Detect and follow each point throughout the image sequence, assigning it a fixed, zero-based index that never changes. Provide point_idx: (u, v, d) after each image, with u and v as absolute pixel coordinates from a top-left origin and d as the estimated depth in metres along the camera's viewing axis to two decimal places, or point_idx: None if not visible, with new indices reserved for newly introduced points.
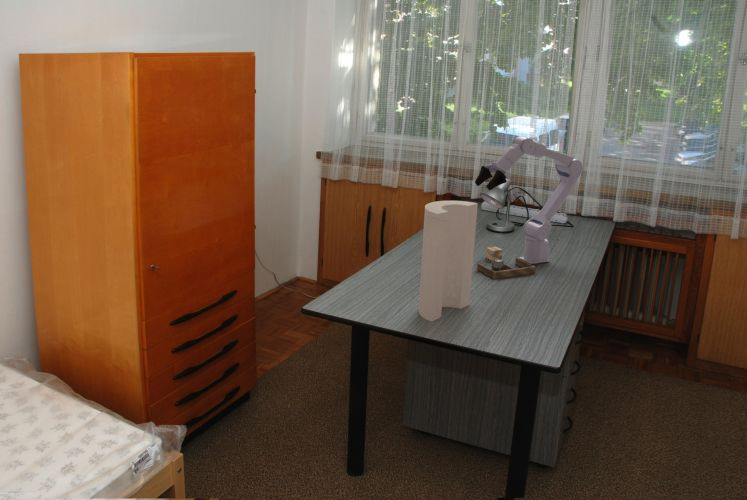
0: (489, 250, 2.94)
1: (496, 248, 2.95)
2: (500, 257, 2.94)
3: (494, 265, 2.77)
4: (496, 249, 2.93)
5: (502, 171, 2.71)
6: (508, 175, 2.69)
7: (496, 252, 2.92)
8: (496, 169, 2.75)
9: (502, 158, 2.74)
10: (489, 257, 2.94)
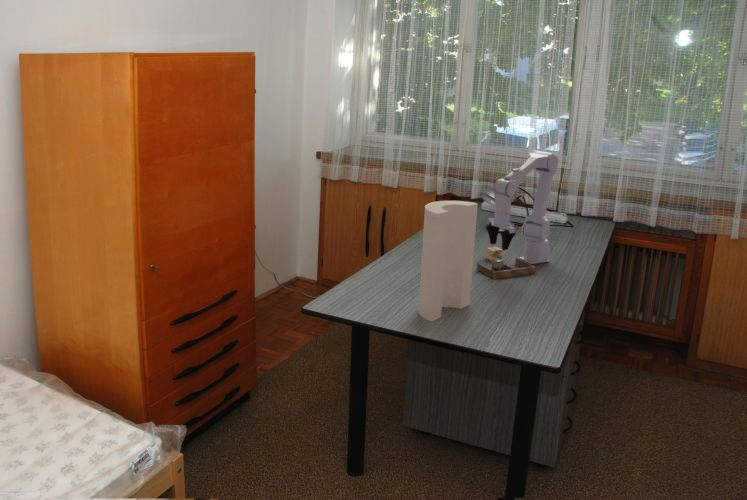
0: (489, 250, 2.94)
1: (496, 248, 2.95)
2: (500, 257, 2.94)
3: (494, 265, 2.77)
4: (496, 249, 2.93)
5: None
6: (512, 231, 2.68)
7: (496, 252, 2.92)
8: None
9: (497, 215, 2.71)
10: (489, 257, 2.94)
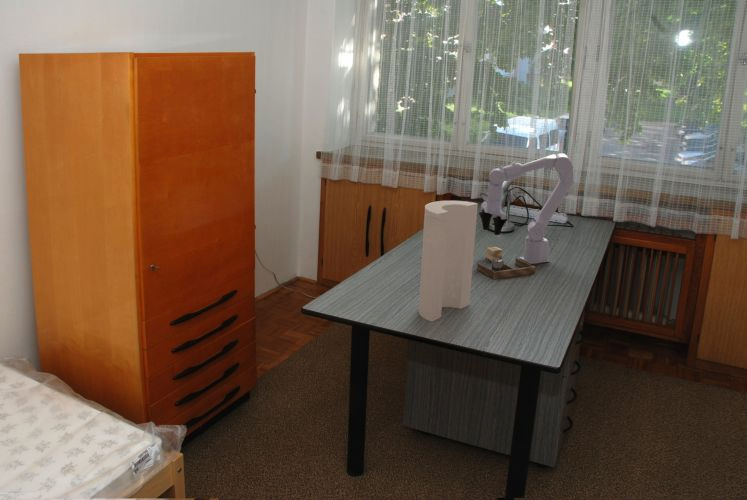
0: (489, 250, 2.94)
1: (496, 248, 2.95)
2: (500, 257, 2.94)
3: (494, 265, 2.77)
4: (496, 249, 2.93)
5: None
6: (504, 217, 2.86)
7: (496, 252, 2.92)
8: None
9: (489, 202, 2.89)
10: (489, 257, 2.94)
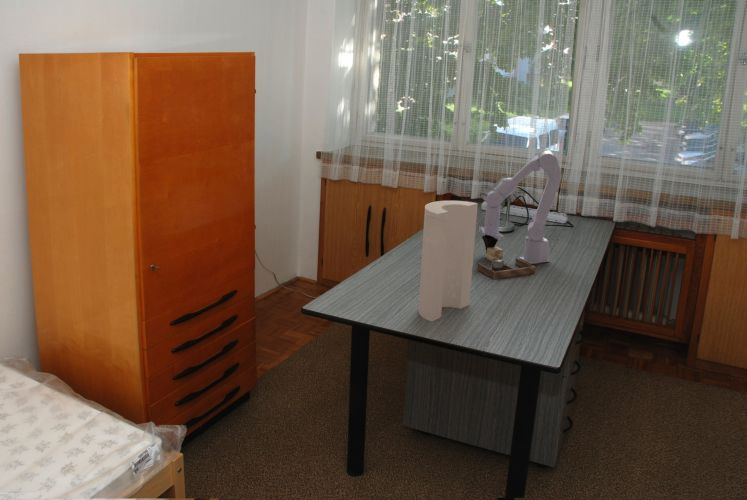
0: (490, 250, 2.93)
1: (497, 248, 2.94)
2: (501, 257, 2.94)
3: (494, 265, 2.77)
4: (497, 249, 2.93)
5: None
6: (501, 239, 2.89)
7: (497, 252, 2.92)
8: None
9: (487, 224, 2.92)
10: (490, 257, 2.94)
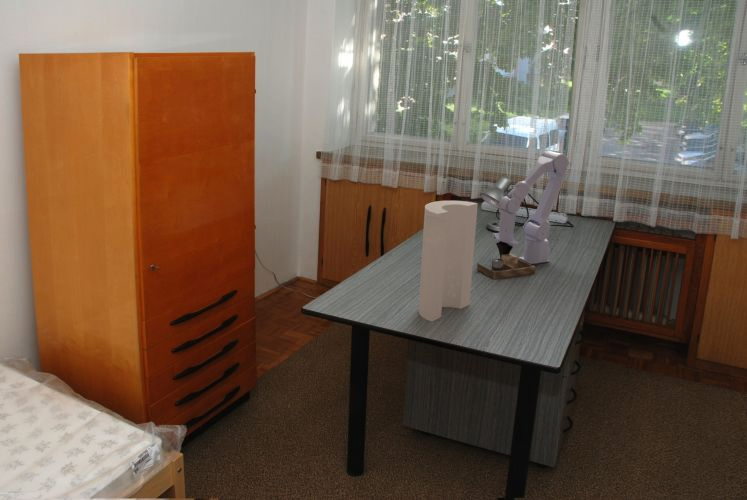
0: (504, 257, 2.85)
1: (511, 255, 2.86)
2: (515, 264, 2.85)
3: (494, 265, 2.77)
4: (511, 256, 2.85)
5: None
6: (516, 246, 2.81)
7: (511, 259, 2.84)
8: None
9: (501, 231, 2.84)
10: None
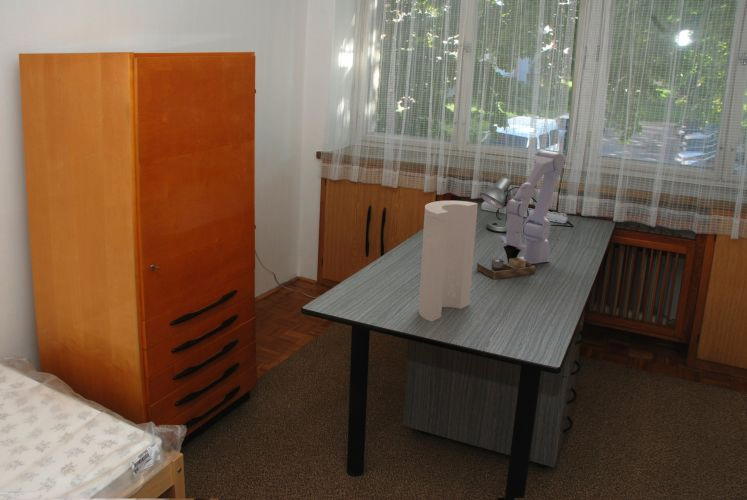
0: (512, 261, 2.81)
1: (519, 259, 2.82)
2: None
3: (494, 265, 2.77)
4: (519, 260, 2.81)
5: (517, 246, 2.79)
6: (524, 249, 2.77)
7: (519, 263, 2.79)
8: None
9: (509, 234, 2.80)
10: None
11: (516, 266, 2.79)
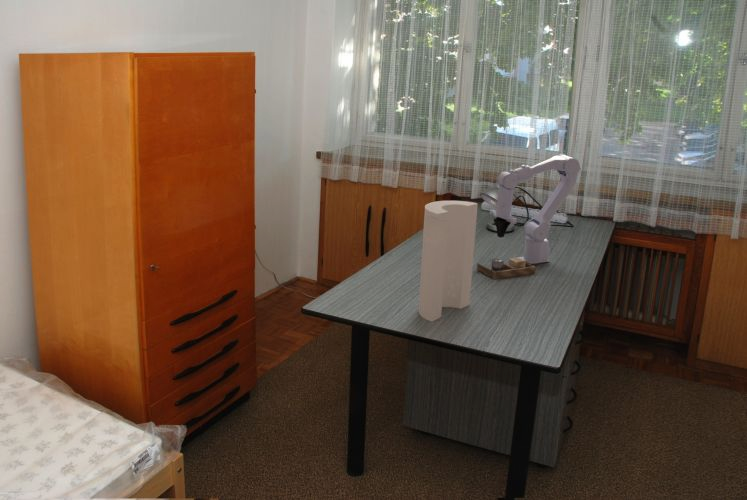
0: (512, 261, 2.81)
1: (519, 259, 2.82)
2: None
3: (494, 265, 2.77)
4: (519, 260, 2.81)
5: (507, 218, 2.83)
6: (514, 221, 2.81)
7: (519, 263, 2.79)
8: None
9: (499, 206, 2.83)
10: None
11: (516, 266, 2.79)
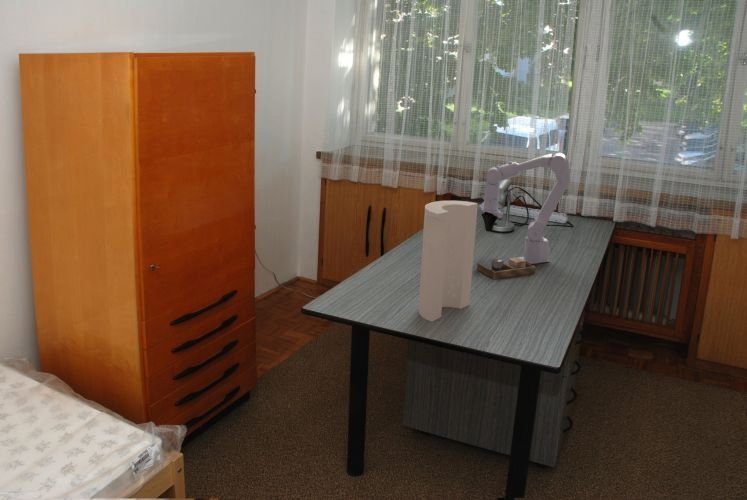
0: (512, 261, 2.81)
1: (519, 259, 2.82)
2: None
3: (494, 265, 2.77)
4: (519, 260, 2.81)
5: None
6: (501, 216, 2.88)
7: (519, 263, 2.79)
8: None
9: (486, 201, 2.91)
10: None
11: (516, 266, 2.79)
